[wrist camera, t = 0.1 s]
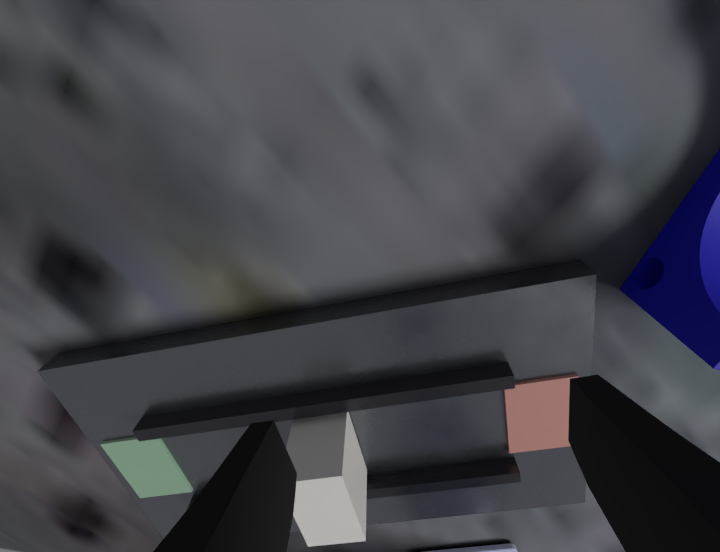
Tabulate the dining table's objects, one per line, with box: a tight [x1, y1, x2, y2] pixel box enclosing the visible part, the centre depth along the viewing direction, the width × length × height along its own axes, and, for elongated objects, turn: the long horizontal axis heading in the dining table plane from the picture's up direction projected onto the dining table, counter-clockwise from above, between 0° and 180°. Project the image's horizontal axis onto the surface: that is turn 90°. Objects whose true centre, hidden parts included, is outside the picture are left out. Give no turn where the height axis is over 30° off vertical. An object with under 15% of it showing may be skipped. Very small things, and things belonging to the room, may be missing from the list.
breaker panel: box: [37, 260, 597, 538], centre depth 22 cm, size 16×28×2 cm, turn 103°
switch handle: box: [286, 412, 367, 547], centre depth 20 cm, size 5×3×4 cm, turn 13°
